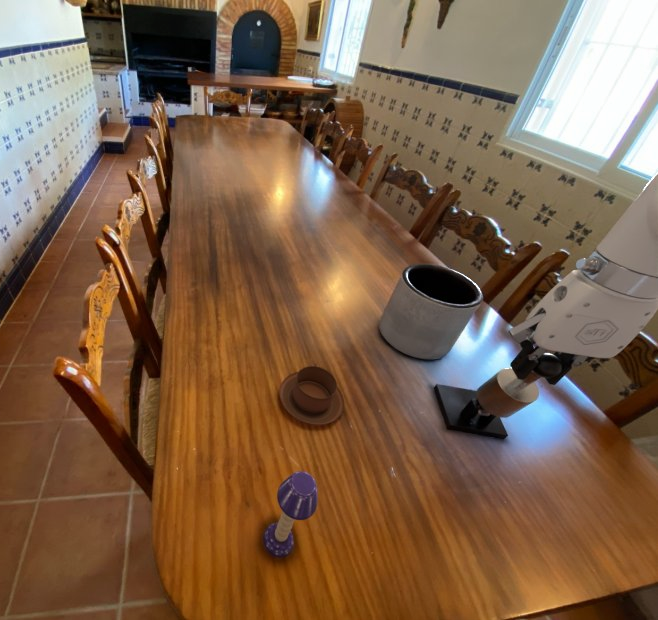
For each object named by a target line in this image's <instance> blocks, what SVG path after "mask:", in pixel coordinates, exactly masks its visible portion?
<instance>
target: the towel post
mask: <svg viewBox="0 0 658 620" xmlns="http://www.w3.org/2000/svg"><path fill="white" fill-rule="evenodd" d="M537 360H538V362H539V363H538V365H537V366H536V367H535V368H534V369H533V370H532V371H531V373H530V374H529V375H528V376H527V377H526V378H525V379H523V380H521V379H518V378H517V376H516V375H515V373H514V371H513V370H512V368H511V367H505V368H502V369H500V370H499V371H497V372H496V373H495V374H493V376H492V377H490V378H489V379H487V381H485V382H483V384H481V385H480V386H479V387H478V388H477V389H476V391H477V393H476V396H477V399H478V402H479V403H480V405H479V408H480V409H479V410H478V412H477V413H476V415H481V416H489V415H490V414H492V415H494V416H497V417H500V419H502V418H504V419H505V418H510V417H511V416H513V415H515V414H516V413H518V412H520V411H522V410H523V409H524V408H526V407H528V406H529V405H531V404H533V403H534V402H536V401H537V400H538V399H539V396H540V390H539V387H538V385H537V383H536V381H538V380H539V379H541V378H544V379H545V378H552V377H555V376H557V375H558V374H559V373H560V372H561V370H562V363H561V361H560V360H559V358H557V357H556V356H555V355H553V354H552V353H549V352H545V353H544V354H543V355H542V356H540V357H539V358H538V359H537Z"/></svg>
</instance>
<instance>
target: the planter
mask: <svg viewBox="0 0 658 620" xmlns="http://www.w3.org/2000/svg"><path fill="white" fill-rule="evenodd" d="M483 300H484V295H483V292H482V290H481V288H480V287H479V285H477V283H475V282H474V281H473V280H472V279H470V278H469V277H467V276H466V275H464V274H463V273H460V272H459V271H456V270H454V269H452V268H449V267H445V266H443V265H438V264H434V263H413V264H410V265H408V266H406V267H404V268H403V269H402V272H401V274H400V276H399V278H398V280H397V283H396V285H395V286H394V289H393V291H392V293H391V296H390V298H389V300H388V302H387V303H386V306H385V308H384V310H383V312H382V314H381V316H380V319H379V323H378V327H379V332H380V333H381V335H382V336H383V338H384V339H385V341H386V342H387V343H388V344H389V345H390V346H392V347H393V348H394V349H396V350H398V351H399V352H401V353H402V354H405V355H407V356H410V357H413V358H416V359H420V360H421V359H422V360H437V359H442V358H444V357H445V356H446V355H448V354H449V353H450V352H451V350H452V349H453V348H454V346H455V344H456V343H457V341H458V340H459V338H460V337H461V335H462V333H463V332H464V330H465V328H466V327H467V326H468V324H469V322H470V321H471V320H472V318H473V316H474V315H475V313H476V312H477V310H478V309H479V307H480V306H481V304H482V302H483Z"/></svg>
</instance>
